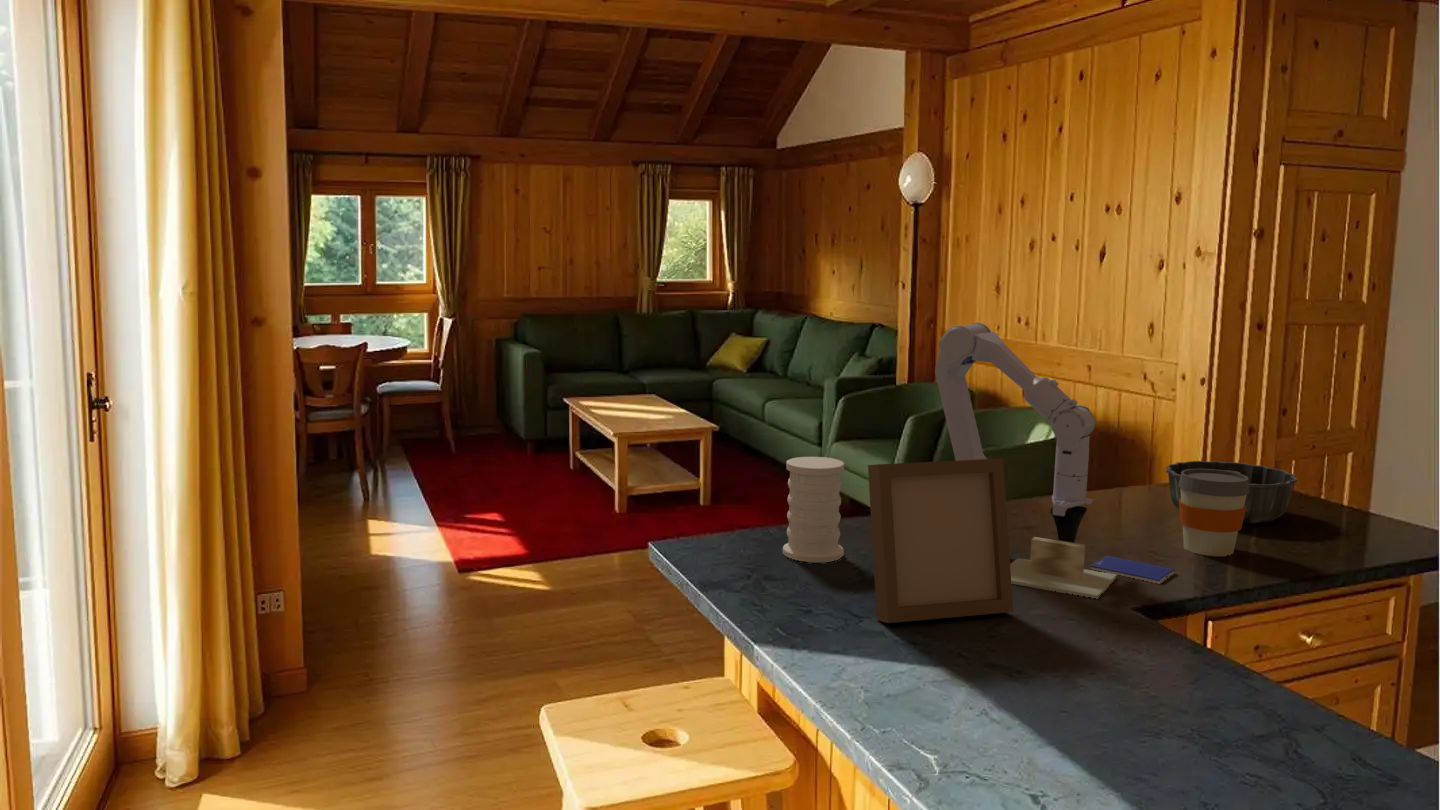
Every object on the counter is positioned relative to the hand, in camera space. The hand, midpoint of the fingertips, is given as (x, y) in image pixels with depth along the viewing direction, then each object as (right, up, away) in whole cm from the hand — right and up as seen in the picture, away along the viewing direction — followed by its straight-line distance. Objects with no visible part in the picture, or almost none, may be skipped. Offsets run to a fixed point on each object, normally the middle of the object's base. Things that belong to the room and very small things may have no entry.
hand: (1066, 545), depth 201 cm
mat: (-3, -5, -5) cm, 8 cm away
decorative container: (-46, -3, +9) cm, 47 cm away
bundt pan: (+49, +1, +42) cm, 65 cm away
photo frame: (-29, -8, -20) cm, 36 cm away
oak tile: (-3, -5, -4) cm, 7 cm away
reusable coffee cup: (+33, -3, +15) cm, 36 cm away
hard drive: (+12, -6, +1) cm, 13 cm away
